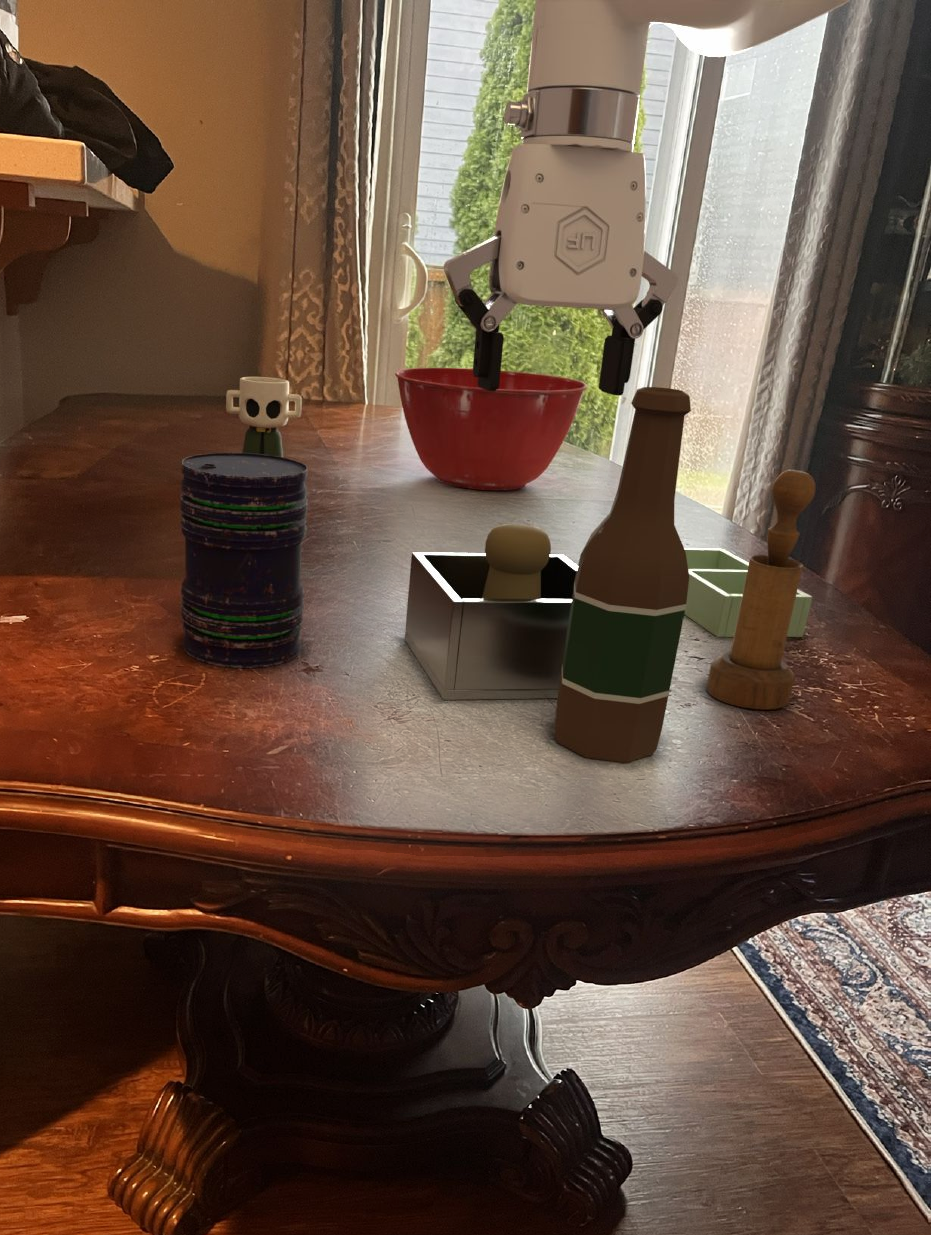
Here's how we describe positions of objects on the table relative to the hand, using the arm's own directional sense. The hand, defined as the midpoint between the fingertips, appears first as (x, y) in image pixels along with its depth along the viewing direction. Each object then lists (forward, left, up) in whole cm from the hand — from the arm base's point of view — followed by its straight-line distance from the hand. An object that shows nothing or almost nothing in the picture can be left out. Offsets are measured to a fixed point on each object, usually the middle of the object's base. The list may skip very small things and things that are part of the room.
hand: (549, 390), depth 78 cm
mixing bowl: (-20, -78, -22) cm, 84 cm away
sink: (+1, 0, -22) cm, 22 cm away
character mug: (+13, -81, -22) cm, 85 cm away
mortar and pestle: (-18, +6, -22) cm, 29 cm away
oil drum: (+22, -5, -22) cm, 32 cm away
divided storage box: (-27, -16, -22) cm, 39 cm away
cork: (+1, 0, -22) cm, 21 cm away
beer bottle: (-2, +14, -22) cm, 26 cm away
